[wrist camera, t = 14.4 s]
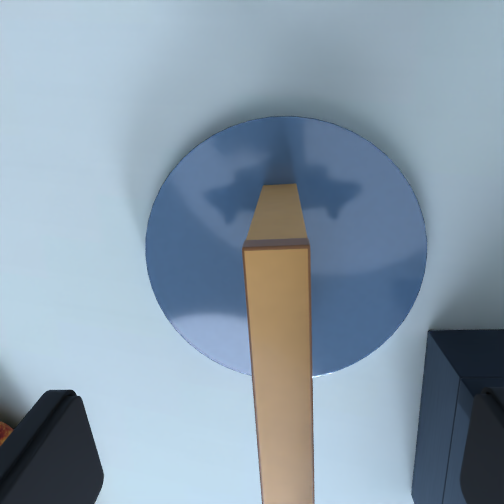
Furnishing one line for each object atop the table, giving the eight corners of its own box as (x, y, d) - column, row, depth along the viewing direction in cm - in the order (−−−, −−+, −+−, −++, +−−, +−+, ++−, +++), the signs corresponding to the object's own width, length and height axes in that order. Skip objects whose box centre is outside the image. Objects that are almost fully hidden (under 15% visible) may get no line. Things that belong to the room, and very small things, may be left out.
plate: (157, 360, 25) (152, 369, 24) (142, 110, 20) (136, 109, 19) (395, 379, 24) (400, 390, 23) (448, 122, 19) (456, 122, 18)
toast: (271, 341, 23) (262, 506, 13) (262, 184, 20) (241, 247, 10) (301, 340, 23) (314, 508, 13) (296, 182, 20) (310, 244, 10)
